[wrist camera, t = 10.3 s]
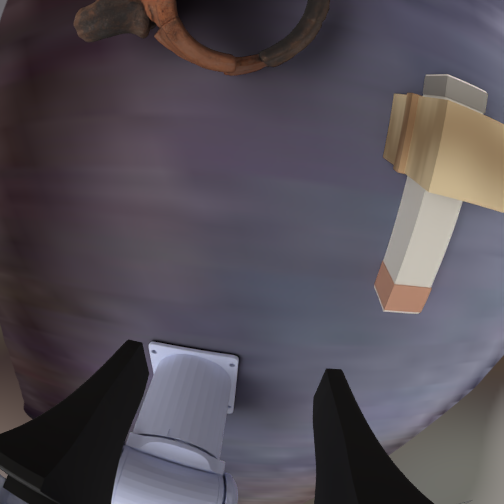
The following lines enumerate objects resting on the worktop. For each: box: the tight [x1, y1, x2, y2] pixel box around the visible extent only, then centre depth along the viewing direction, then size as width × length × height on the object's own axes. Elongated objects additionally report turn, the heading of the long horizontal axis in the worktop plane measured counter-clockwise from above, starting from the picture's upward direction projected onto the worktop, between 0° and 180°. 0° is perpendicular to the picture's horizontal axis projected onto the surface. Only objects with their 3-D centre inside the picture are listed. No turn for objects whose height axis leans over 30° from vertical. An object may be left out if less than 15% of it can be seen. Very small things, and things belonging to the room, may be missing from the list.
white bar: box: [374, 74, 488, 314], centre depth 16 cm, size 15×3×3 cm, turn 175°
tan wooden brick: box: [383, 93, 504, 213], centre depth 13 cm, size 4×7×6 cm, turn 85°
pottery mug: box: [74, 0, 330, 76], centre depth 11 cm, size 12×10×8 cm
